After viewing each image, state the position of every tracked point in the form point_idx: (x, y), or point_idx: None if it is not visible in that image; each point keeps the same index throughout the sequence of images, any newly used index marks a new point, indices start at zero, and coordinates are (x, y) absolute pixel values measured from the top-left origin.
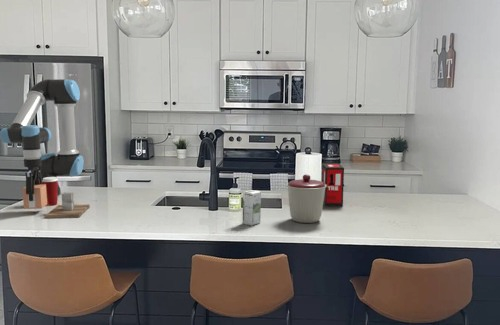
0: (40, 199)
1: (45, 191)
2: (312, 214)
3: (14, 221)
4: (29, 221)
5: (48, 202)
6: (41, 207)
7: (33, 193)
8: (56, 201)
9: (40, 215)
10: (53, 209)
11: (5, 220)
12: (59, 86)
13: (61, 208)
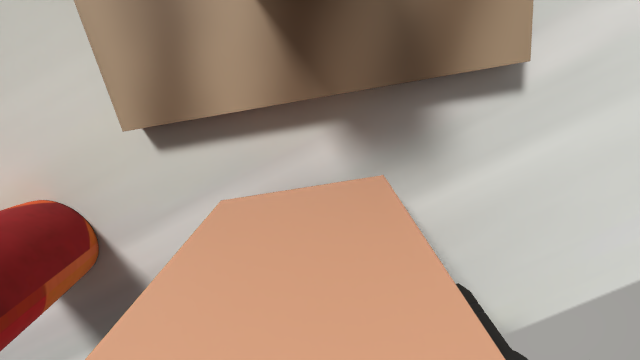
0: (409, 221)
1: (184, 287)
2: None
3: (576, 253)
4: (600, 148)
5: (78, 256)
6: (385, 179)
7: (505, 355)
8: (18, 209)
9: (406, 156)
10: (302, 92)
11: (536, 317)
12: None
13: (251, 26)
